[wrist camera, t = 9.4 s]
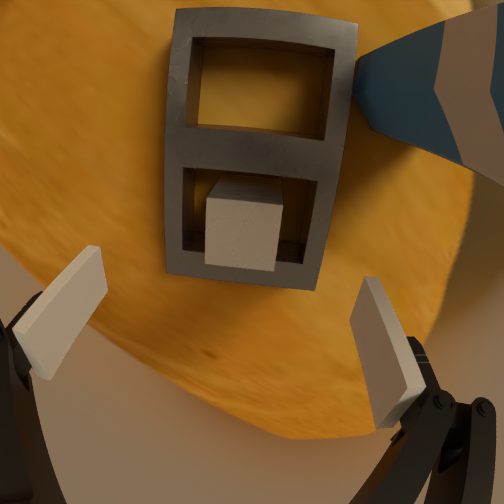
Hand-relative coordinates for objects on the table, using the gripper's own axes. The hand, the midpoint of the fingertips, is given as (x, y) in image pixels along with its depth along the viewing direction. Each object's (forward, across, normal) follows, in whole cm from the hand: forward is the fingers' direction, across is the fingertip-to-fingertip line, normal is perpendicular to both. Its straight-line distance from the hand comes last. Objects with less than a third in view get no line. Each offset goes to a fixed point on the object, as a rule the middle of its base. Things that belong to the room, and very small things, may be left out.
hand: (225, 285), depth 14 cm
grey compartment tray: (+14, 0, +4) cm, 15 cm away
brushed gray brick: (+14, 0, -1) cm, 14 cm away
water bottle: (+14, +12, +12) cm, 22 cm away
